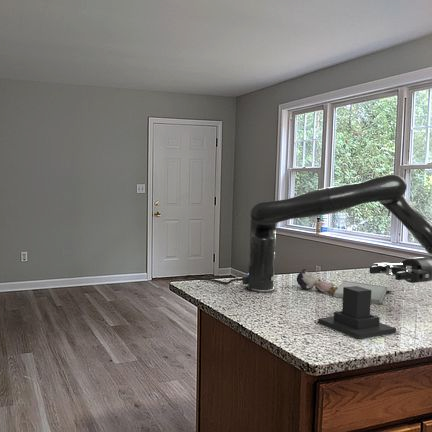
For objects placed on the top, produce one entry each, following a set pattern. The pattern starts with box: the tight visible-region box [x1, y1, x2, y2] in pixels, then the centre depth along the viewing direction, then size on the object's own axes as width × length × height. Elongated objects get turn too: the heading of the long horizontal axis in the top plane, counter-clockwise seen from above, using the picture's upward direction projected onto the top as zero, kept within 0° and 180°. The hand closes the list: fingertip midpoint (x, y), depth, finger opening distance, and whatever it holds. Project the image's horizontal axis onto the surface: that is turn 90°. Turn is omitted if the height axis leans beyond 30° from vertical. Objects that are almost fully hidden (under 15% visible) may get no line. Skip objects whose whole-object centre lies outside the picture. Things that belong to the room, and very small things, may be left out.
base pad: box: [317, 310, 397, 340], centre depth 122 cm, size 14×14×4 cm
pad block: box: [341, 286, 372, 319], centre depth 121 cm, size 5×5×10 cm
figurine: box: [296, 268, 339, 295], centre depth 163 cm, size 10×6×15 cm
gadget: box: [332, 279, 393, 305], centre depth 159 cm, size 23×15×4 cm, turn 141°
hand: (383, 273), depth 127 cm, fingers open, 8 cm apart
